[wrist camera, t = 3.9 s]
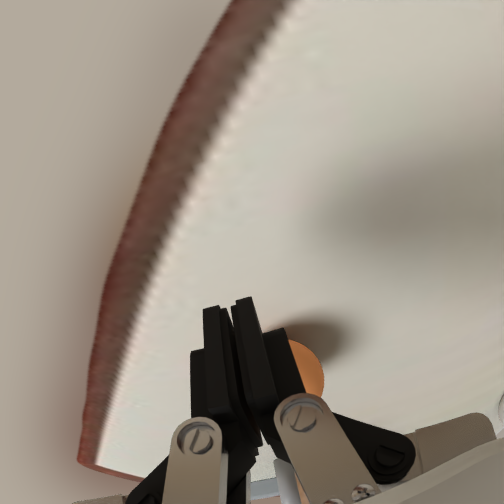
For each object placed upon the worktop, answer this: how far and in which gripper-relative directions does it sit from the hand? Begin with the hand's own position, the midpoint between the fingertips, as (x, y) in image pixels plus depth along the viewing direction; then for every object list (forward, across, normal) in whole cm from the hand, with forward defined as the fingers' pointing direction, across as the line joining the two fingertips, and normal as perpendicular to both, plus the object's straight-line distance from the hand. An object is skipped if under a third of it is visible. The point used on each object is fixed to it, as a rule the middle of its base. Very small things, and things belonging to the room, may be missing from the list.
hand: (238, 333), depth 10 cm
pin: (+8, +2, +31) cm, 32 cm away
